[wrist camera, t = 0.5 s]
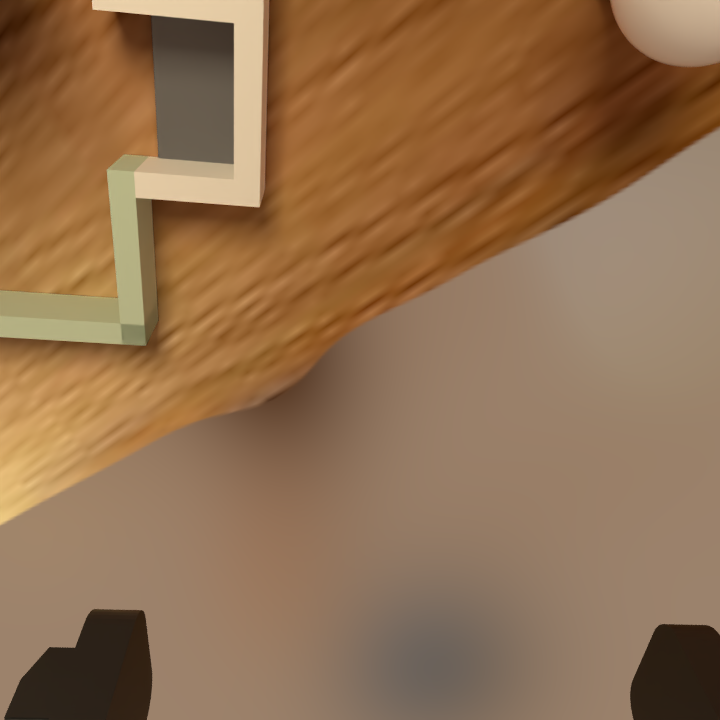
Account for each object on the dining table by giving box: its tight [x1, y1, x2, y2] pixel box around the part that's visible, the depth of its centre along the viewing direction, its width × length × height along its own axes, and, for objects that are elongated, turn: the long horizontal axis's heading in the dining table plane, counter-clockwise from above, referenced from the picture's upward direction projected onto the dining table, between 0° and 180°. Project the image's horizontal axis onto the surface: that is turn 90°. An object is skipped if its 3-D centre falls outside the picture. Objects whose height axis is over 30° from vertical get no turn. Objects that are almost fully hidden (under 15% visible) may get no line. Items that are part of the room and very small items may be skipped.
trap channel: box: [0, 0, 269, 346], centre depth 30 cm, size 26×23×3 cm
